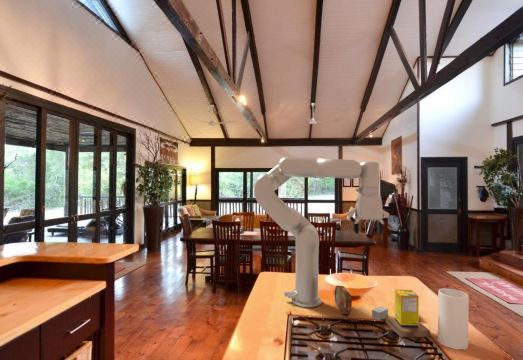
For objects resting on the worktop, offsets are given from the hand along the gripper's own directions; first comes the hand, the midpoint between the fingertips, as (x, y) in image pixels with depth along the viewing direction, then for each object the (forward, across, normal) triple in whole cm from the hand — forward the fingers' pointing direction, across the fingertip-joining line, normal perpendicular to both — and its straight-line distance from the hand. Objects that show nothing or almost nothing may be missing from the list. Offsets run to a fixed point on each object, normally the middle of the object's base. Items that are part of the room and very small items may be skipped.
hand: (367, 233), depth 125 cm
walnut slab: (+30, +7, -20) cm, 36 cm away
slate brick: (+30, +2, -10) cm, 32 cm away
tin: (+30, -11, -3) cm, 32 cm away
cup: (+30, +17, -28) cm, 45 cm away
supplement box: (+28, +6, -19) cm, 35 cm away
